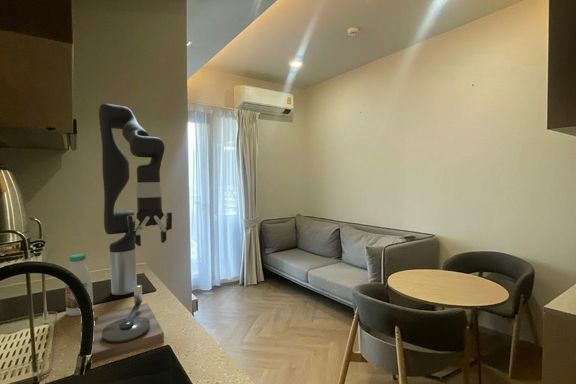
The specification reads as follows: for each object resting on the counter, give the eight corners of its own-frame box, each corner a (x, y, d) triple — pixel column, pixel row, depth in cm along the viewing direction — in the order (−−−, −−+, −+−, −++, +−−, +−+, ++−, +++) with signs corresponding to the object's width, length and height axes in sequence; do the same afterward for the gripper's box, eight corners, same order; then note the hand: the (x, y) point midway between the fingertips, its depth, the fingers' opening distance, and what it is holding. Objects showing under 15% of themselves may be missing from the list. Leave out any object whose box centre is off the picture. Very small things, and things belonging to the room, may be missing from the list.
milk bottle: (77, 306, 108) (74, 252, 107) (98, 306, 108) (95, 252, 107) (60, 316, 100) (57, 258, 99) (83, 316, 100) (80, 258, 99)
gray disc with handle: (145, 339, 81) (144, 311, 80) (95, 346, 78) (94, 317, 77) (158, 305, 102) (157, 283, 102) (119, 309, 99) (118, 286, 99)
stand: (86, 325, 94) (85, 314, 94) (147, 310, 105) (147, 300, 105) (87, 364, 74) (87, 351, 74) (164, 341, 85) (163, 329, 85)
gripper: (168, 194, 108) (169, 239, 109) (123, 196, 99) (125, 245, 100) (174, 195, 102) (176, 242, 103) (127, 197, 93) (129, 249, 94)
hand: (151, 243), depth 102 cm, fingers open, 7 cm apart
